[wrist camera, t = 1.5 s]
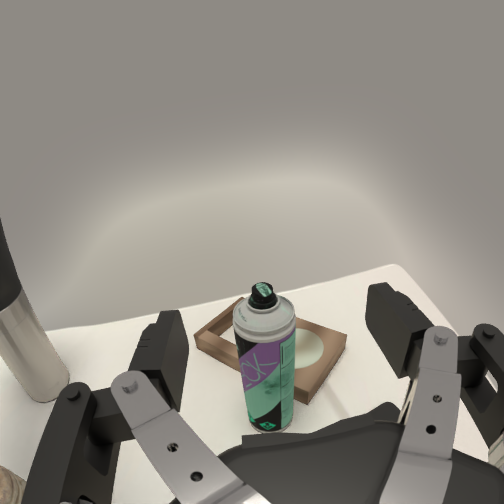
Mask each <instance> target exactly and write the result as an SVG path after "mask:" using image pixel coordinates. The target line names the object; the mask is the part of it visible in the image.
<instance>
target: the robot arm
mask: <svg viewBox="0 0 504 504" xmlns="http://www.w3.org/2000/svg"><path fill="white" fill-rule="evenodd" d="M365 320H366V325H367V328H368V330H369V331H370V333H371V334H372V336H373V338H374V339H375V341H376V342H377V344H378V346H379V347H380V349H381V351H382V352H383V354H384V355H385V357H386V359H387V360H388V362H389V364H390V365H391V367H392V369H393V370H394V372H395V374H396V376H397V377H398V379H400V378H403V377H406V376H409V378H410V381H409V384H408V388H407V392H406V395H405V399H404V402H403V406H402V409H401V412H400V415H399V418H398V421H397V423H396V422H391V421H384V420H374V419H373V417H372V415H371V412H370V413H366V414H363V415H359V416H355V417H351V418H347V419H343V420H340V421H338V422H336V423H334V424H331V425H329V426H327V427H325V428H322V429H320V430H318V431H315V432H313V433H309V434H301V433H281V432H272V433H263V434H254V435H243V436H242V444H241V445H238V446H235V447H233V448H230V449H228V450H226V451H224V452H223V453H221V454H219V455H218V456H216V455H215V454H214V453H213V452H212V451H211V450H210V449H209V448H208V447H207V446H206V444H205V443H204V442H203V441H202V440H201V439H200V438H199V437H198V436H197V435H196V433H195V432H194V431H193V430H192V429H191V428H190V427H189V425H188V424H187V423H186V422H185V421H184V420H183V418H182V417H181V416H180V415H179V414H178V412H180V406H181V399H182V393H183V386H184V380H185V373H186V367H187V361H188V355H189V344H188V339H187V335H186V332H185V328H184V325H183V321H182V317H181V314H180V312H179V310H169V311H161V312H160V314H159V317H158V319H157V322H156V323H153V324H150V325H149V326H148V327H147V328H146V329H145V330H144V331H143V332H142V335H141V337H140V341H139V342H138V345H137V348H136V350H135V353H134V355H133V358H132V361H131V363H130V366H129V369H128V371H127V372H124V373H122V374H120V375H118V376H117V377H116V378H115V379H114V380H113V382H112V384H111V387H109V388H105V389H101V390H96V391H91V390H90V388H89V386H88V385H87V384H85V383H82V382H75V383H71V384H69V385H67V384H68V381H69V373H68V370H67V369H66V367H65V366H64V364H63V363H62V361H61V359H60V358H59V356H58V354H57V353H56V351H55V349H54V348H53V346H52V344H51V342H50V341H49V339H48V337H47V335H46V334H45V332H44V330H43V328H42V326H41V324H40V322H39V321H38V319H37V317H36V315H35V313H34V311H33V309H32V307H31V304H30V303H29V300H28V298H27V296H26V294H25V292H24V290H23V287H22V285H21V283H20V280H19V278H18V275H17V272H16V269H15V266H14V263H13V260H12V257H11V254H10V252H9V248H8V246H7V242H6V239H5V235H4V231H3V227H2V223H1V219H0V356H1V357H2V359H3V360H4V362H5V363H6V365H7V366H8V367H9V369H10V370H11V372H12V373H13V374H14V376H15V377H16V379H17V380H18V381H19V383H20V384H21V385H22V386H23V388H24V389H25V390H26V392H27V393H28V394H29V395H30V396H31V398H32V399H34V400H35V401H38V402H48V401H51V400H53V399H55V398H57V397H58V398H57V400H56V403H55V405H54V407H53V410H52V412H51V415H50V417H49V419H48V422H47V425H46V427H45V430H44V432H43V435H42V438H41V440H40V443H39V446H38V449H37V451H36V454H35V457H34V460H33V463H32V466H31V470H30V473H29V476H28V479H27V483H26V486H25V490H24V493H23V497H22V501H21V504H111V501H112V493H113V486H114V480H115V473H116V467H117V461H118V456H119V450H120V445H121V442H122V441H127V440H132V439H136V440H137V442H138V443H139V445H140V446H141V448H142V450H143V451H144V453H145V454H146V456H147V457H148V459H149V460H150V462H151V463H152V465H153V466H154V468H155V469H156V471H157V472H158V473H159V475H160V476H161V478H162V479H163V480H164V482H165V483H166V485H167V486H168V487H169V489H170V490H171V491H172V493H173V494H174V495H175V496H176V498H175V499H174V500H172V501H171V502H170V503H169V504H504V335H503V334H502V333H501V332H500V330H499V329H498V328H496V327H494V326H493V325H490V324H479V325H477V326H476V327H475V328H474V331H473V334H472V336H458V337H457V335H456V334H455V332H454V331H452V330H451V329H449V328H447V327H443V326H434V325H433V324H432V322H431V321H430V320H429V319H428V318H427V317H426V316H425V315H424V314H423V312H422V311H421V310H420V309H418V307H417V306H416V305H415V304H414V303H413V302H412V301H411V300H410V298H409V297H408V296H406V295H404V294H402V293H400V292H399V291H396V292H395V291H394V290H393V288H392V287H391V286H390V285H389V284H388V283H386V282H384V283H378V284H373V285H370V286H369V288H368V295H367V305H366V313H365ZM488 370H489V371H490V373H491V374H492V375H493V377H494V378H495V379H496V381H497V383H498V391H497V393H496V391H495V390H494V388H493V387H492V386H491V384H490V383H489V381H488V380H487V378H486V377H485V376H486V374H487V372H488ZM460 398H461V400H462V401H463V403H464V405H465V406H466V408H467V410H468V411H469V413H470V415H471V417H472V418H473V420H474V422H475V424H476V426H477V427H478V429H479V431H480V433H481V435H482V437H483V439H484V441H485V442H486V444H487V446H488V448H489V452H488V460H489V461H488V462H484V461H482V460H479V459H477V458H474V457H472V456H469V455H467V454H465V453H462V452H460V451H458V450H455V449H453V443H454V437H455V431H456V425H457V418H458V410H459V401H460Z"/></svg>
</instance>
